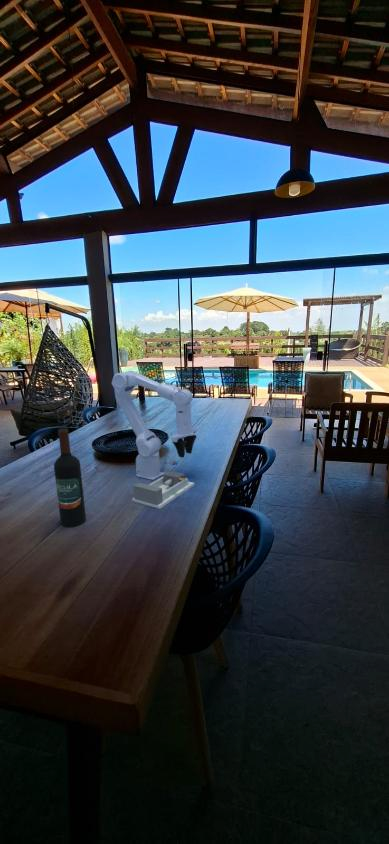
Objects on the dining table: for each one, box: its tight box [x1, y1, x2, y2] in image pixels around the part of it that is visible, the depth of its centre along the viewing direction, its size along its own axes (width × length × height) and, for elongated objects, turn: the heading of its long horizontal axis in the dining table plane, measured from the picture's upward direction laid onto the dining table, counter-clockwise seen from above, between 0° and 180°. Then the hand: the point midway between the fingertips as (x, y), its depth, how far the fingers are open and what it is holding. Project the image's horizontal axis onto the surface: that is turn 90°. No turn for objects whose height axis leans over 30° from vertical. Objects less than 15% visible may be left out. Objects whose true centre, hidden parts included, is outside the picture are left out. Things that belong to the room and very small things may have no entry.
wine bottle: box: [53, 428, 87, 528], centre depth 112 cm, size 8×8×30 cm
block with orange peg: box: [162, 470, 186, 486], centre depth 137 cm, size 9×7×4 cm
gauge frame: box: [131, 476, 195, 509], centre depth 134 cm, size 12×22×6 cm, turn 148°
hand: (185, 455), depth 143 cm, fingers open, 5 cm apart
